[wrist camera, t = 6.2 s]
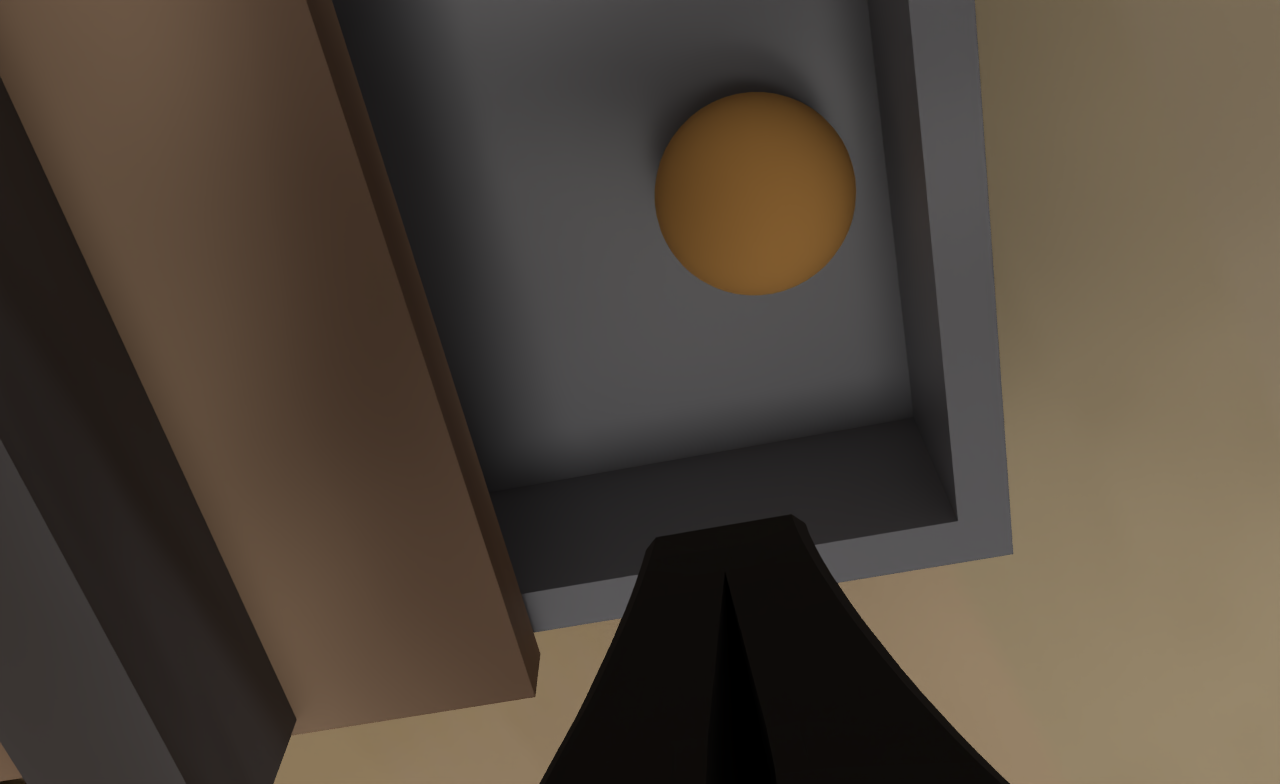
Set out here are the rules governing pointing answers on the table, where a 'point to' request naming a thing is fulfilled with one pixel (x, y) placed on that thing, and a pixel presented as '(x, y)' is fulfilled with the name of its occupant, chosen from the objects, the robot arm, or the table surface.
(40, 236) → the lid
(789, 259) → the ball
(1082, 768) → the table surface
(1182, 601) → the table surface
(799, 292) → the storage box
